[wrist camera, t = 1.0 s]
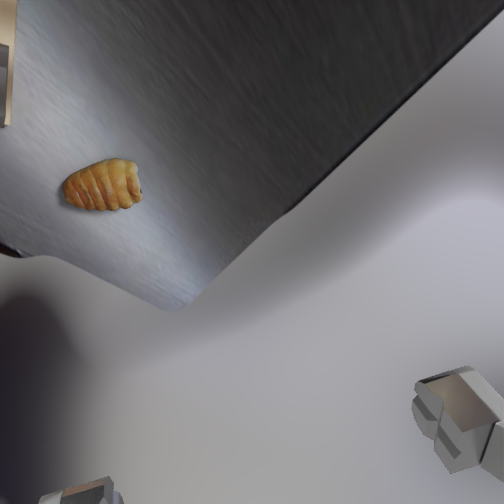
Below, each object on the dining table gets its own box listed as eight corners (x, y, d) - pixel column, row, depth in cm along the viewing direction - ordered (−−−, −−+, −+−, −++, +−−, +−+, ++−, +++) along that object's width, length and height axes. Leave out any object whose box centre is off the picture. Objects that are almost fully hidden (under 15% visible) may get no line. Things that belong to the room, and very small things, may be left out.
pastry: (73, 210, 53) (74, 228, 51) (54, 166, 49) (54, 183, 46) (144, 194, 55) (148, 210, 53) (132, 150, 51) (136, 166, 48)
